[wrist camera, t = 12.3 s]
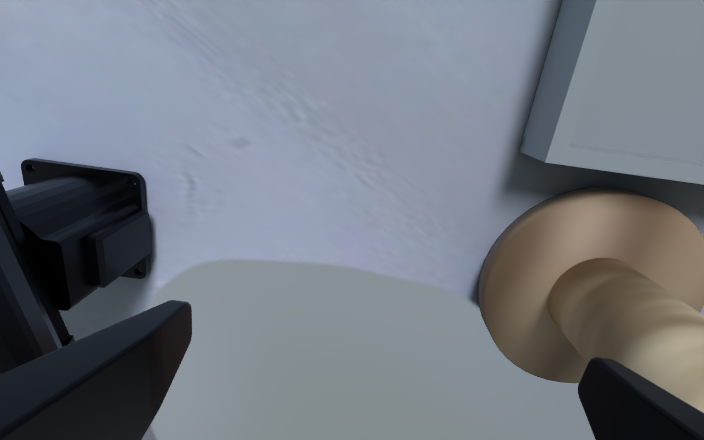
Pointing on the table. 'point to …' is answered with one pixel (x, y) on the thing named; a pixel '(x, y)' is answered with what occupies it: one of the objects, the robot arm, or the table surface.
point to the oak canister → (632, 325)
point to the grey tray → (623, 89)
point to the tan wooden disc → (570, 249)
